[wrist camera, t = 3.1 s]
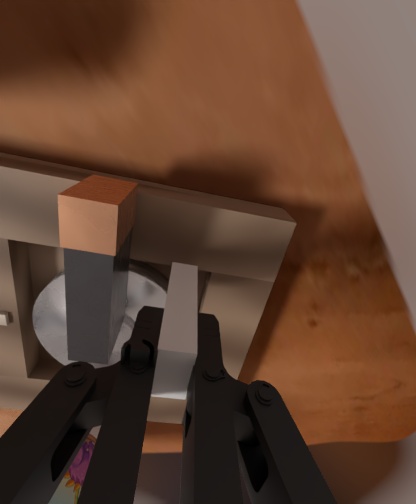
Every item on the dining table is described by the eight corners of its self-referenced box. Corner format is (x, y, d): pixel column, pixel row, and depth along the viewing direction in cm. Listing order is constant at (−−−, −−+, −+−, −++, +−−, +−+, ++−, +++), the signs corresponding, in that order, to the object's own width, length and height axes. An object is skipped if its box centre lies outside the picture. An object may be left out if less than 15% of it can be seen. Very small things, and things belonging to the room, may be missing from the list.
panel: (-49, 142, 17) (-101, 148, 14) (283, 208, 19) (298, 224, 16) (0, 376, 26) (-24, 409, 23) (216, 398, 29) (218, 430, 26)
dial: (173, 367, 25) (165, 444, 19) (50, 353, 24) (1, 431, 18) (212, 187, 17) (219, 224, 12) (34, 151, 16) (-61, 172, 10)
